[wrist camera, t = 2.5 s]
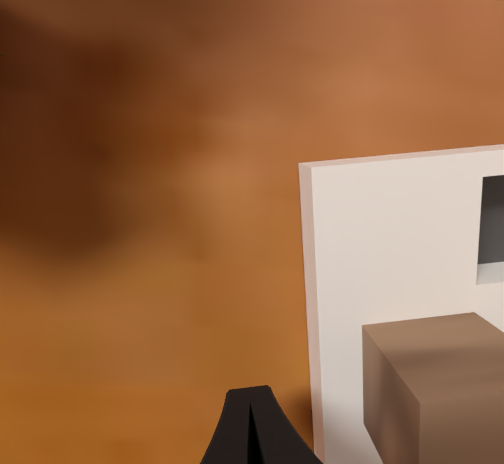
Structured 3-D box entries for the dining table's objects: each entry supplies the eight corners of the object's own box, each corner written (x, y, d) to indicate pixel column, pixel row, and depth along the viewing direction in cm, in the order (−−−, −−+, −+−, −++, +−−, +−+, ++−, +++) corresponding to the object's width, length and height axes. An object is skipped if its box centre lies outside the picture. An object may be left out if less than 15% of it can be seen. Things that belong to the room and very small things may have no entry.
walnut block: (468, 409, 14) (558, 510, 10) (363, 423, 14) (416, 531, 10) (474, 312, 13) (577, 383, 10) (361, 325, 13) (420, 403, 9)
